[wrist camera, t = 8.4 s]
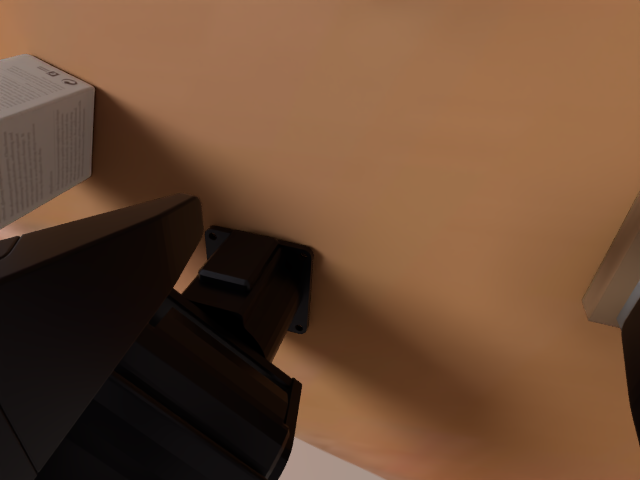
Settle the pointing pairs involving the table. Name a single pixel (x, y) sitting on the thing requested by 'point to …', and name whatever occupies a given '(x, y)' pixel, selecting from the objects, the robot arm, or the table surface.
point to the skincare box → (41, 134)
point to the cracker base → (617, 275)
